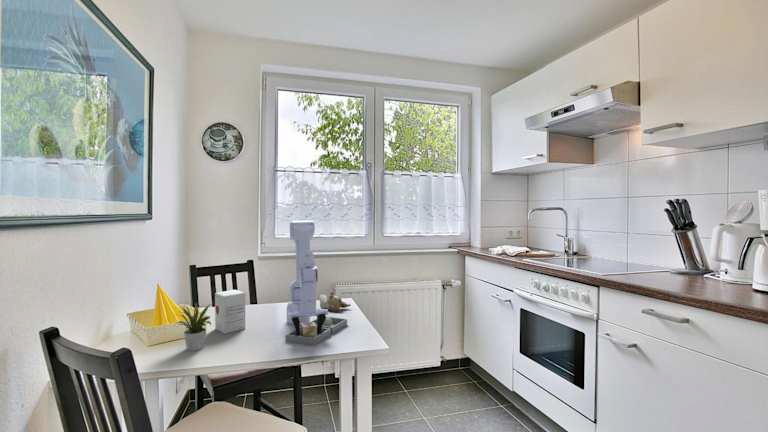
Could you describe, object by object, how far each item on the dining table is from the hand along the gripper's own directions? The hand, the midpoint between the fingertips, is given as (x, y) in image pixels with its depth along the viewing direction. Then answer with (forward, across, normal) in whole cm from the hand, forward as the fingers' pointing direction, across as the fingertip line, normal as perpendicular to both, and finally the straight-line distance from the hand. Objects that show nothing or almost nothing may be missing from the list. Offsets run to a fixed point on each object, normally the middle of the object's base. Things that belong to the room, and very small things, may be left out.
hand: (308, 335), depth 139 cm
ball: (+1, +10, +10) cm, 13 cm away
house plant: (+2, -40, +6) cm, 40 cm away
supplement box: (+2, -27, +25) cm, 37 cm away
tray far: (+1, +10, +10) cm, 14 cm away
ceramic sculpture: (+2, +19, +36) cm, 41 cm away
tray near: (+1, 0, 0) cm, 1 cm away
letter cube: (+1, 0, 0) cm, 1 cm away
